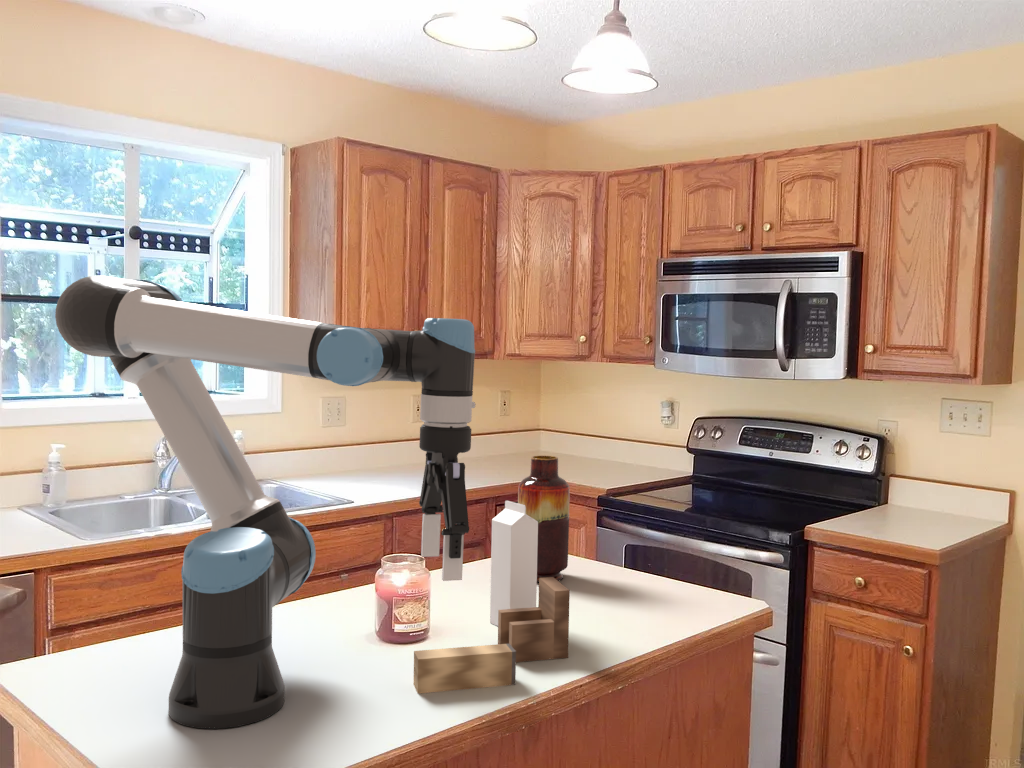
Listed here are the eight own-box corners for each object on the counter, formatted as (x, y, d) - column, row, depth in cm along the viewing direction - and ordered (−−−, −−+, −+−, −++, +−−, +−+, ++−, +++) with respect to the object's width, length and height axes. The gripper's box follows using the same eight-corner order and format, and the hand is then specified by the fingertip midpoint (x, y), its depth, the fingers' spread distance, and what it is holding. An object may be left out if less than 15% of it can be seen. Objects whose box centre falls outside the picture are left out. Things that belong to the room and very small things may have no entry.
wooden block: (417, 693, 127) (418, 659, 126) (413, 684, 130) (414, 651, 130) (515, 684, 131) (515, 651, 131) (508, 675, 134) (509, 643, 134)
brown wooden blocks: (511, 662, 140) (512, 593, 139) (497, 645, 147) (499, 580, 147) (568, 657, 142) (569, 590, 142) (551, 640, 150) (553, 576, 150)
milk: (509, 632, 154) (511, 507, 153) (489, 623, 159) (491, 501, 158) (536, 626, 158) (538, 503, 157) (516, 617, 163) (518, 498, 162)
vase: (512, 582, 186) (515, 459, 185) (520, 569, 197) (523, 453, 196) (564, 586, 184) (567, 461, 183) (570, 572, 195) (572, 455, 194)
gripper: (495, 433, 119) (489, 589, 120) (449, 416, 142) (444, 546, 143) (441, 433, 116) (435, 592, 117) (403, 415, 140) (399, 548, 141)
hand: (440, 567), depth 130 cm, fingers open, 13 cm apart
